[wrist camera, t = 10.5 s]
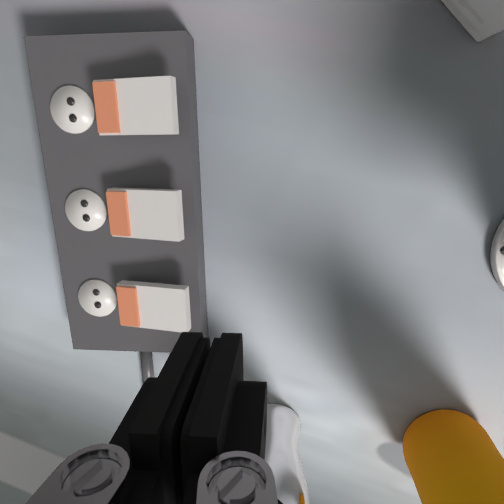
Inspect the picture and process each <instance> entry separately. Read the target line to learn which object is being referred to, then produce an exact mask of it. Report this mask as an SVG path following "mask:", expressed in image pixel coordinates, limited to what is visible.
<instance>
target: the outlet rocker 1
mask: <svg viewBox="0 0 504 504" xmlns="http://www.w3.org/2000/svg"><path fill="white" fill-rule="evenodd" d="M106 198H107V207H108V216H109V224H110V233H111V235H112V236H114V237H127V238H139V239H151V240H164V241H176V242H179V241H181V240H183V239H184V223H183V207H182V191H181V190H173V189H144V188H108V189H107V191H106Z"/></svg>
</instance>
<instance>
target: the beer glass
mask: <svg viewBox="0 0 504 504" xmlns="http://www.w3.org/2000/svg"><path fill="white" fill-rule="evenodd" d="M300 435H301V422H300V419H299V417H298V415H297V414H296V413H295V412H294V411H293V410H292V409H290V408H289V407H287V406H284V405H281V404H267V430H266V448H265V461H266V462H267V463H268V465H269V466H270V467H271V469H272V472H273V475H274V478H275V485H276V492H277V499H279V500H280V501H281V502H282V503H283V504H310V499H309V492H308V487H307V482H306V478H305V474H304V470H303V466H302V462H301V459H300V454H299V439H300Z"/></svg>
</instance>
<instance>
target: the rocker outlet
mask: <svg viewBox="0 0 504 504" xmlns="http://www.w3.org/2000/svg"><path fill="white" fill-rule="evenodd" d="M92 85H93V94H94V102H95V111H96V119H97V128H98V133H99V135H169V134H179V125H178V109H177V93H176V77H173V76H155V77H138V78H120V79H103V80H93V82H92Z"/></svg>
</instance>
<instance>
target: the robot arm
mask: <svg viewBox="0 0 504 504" xmlns="http://www.w3.org/2000/svg"><path fill="white" fill-rule="evenodd" d="M501 247H502V249H500V248H501ZM490 262H491V267H492V272H493V275H494V277H495V279H496V281H497V283H498V285H499V286H500V287H501V288H502V290H503V291H504V219H503V220H502V222H501V223H500V225H499V226H498V228H497V231H496V233H495V235H494V238H493V242H492V246H491V259H490ZM266 430H267V382H256V381H243V341H242V333H222V334H221V337H220V338H214V340H213V343H212V346H211V348H210V339H209V338H205V337H203V333H202V332H182V333H181V335H180V337H179V338H178V340H177V342H176V344H175V346H174V348H173V350H172V352H171V353H170V355H169V357H168V359H167V361H166V363H165V365H164V367H163V368H162V370H161V372H160V374H159V376H158V378H156V377H149V378H147V379H146V381H145V382H144V384H143V385H142V387H141V389H140V391H139V392H138V394H137V396H136V398H135V399H134V401H133V403H132V404H131V406H130V408H129V410H128V411H127V413H126V415H125V417H124V418H123V420H122V422H121V424H120V425H119V427H118V429H117V430H116V432H115V434H114V436H113V437H112V439H111V441H110V443H109V444H103V443H102V444H96V445H90V446H88V447H85V448H83V449H80V450H78V451H76V452H75V453H73V454H72V455H70V456H68V457H67V458H66V459H65V460H64V461H63V462H62V463H61V464H60V465H59V466H58V467H57V468H56V469H55V470H54V471H53V472H52V474H51V475H50V476H49V477H48V478H47V479H46V480H45V482H44V483H43V484H42V485H41V486H40V487H39V488H38V489H37V491H36V492H35V493H34V494H33V495H32V496H31V497H30V499H29V500H28V501H27V502H26V503H25V504H283V503H282V502H281V501H280V500H279V499H277V492H276V485H275V478H274V475H273V472H272V469H271V467H270V466H269V465H268V463H267V462H266V461H265V448H266Z"/></svg>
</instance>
